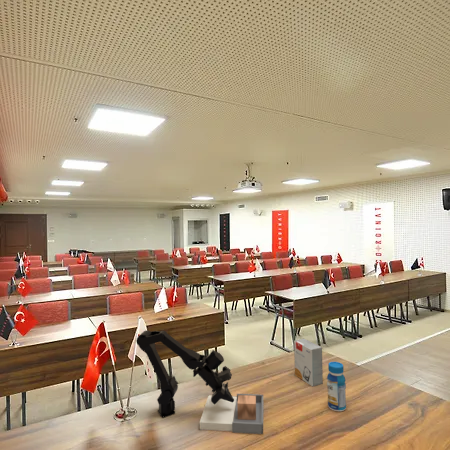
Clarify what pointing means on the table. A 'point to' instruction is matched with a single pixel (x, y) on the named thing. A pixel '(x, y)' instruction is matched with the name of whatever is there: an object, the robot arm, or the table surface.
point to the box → (250, 425)
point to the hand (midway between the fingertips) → (233, 401)
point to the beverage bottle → (336, 387)
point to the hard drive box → (308, 362)
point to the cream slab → (218, 415)
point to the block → (246, 407)
